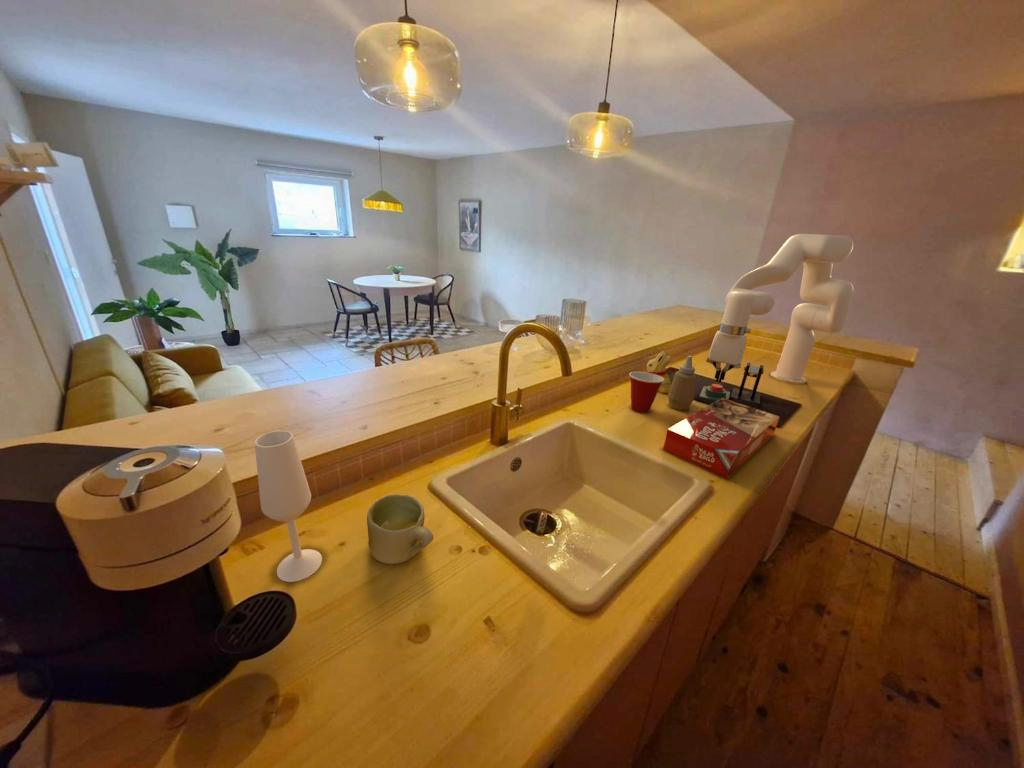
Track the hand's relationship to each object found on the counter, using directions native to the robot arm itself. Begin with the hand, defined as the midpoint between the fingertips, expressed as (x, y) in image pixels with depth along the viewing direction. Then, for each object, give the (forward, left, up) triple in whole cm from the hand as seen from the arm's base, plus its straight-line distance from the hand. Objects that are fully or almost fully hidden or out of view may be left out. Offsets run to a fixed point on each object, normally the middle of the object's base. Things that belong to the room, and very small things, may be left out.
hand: (718, 380), depth 136 cm
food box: (+33, -6, -7) cm, 34 cm away
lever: (-9, +13, +1) cm, 16 cm away
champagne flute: (+99, -89, -8) cm, 133 cm away
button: (0, 0, -4) cm, 4 cm away
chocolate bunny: (-3, -20, -8) cm, 21 cm away
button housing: (0, 0, -7) cm, 7 cm away
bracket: (-5, +12, -7) cm, 15 cm away
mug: (+92, -74, -8) cm, 118 cm away
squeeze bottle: (+11, -14, -8) cm, 19 cm away
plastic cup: (+17, -27, -8) cm, 33 cm away
